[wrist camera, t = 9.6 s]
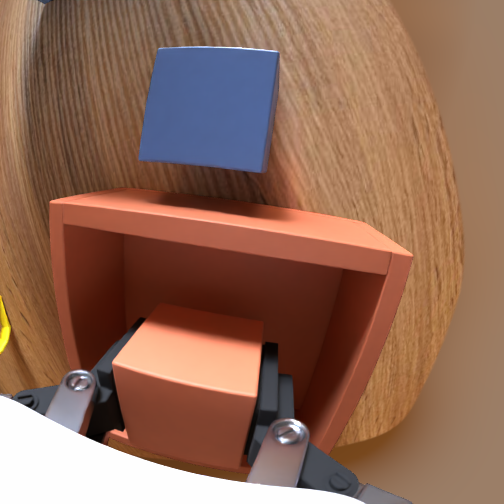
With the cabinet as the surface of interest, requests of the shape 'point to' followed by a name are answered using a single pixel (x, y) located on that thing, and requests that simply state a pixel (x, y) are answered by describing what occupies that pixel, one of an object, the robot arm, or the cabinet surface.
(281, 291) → the terracotta bin
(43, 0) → the blue bin
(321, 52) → the cabinet surface
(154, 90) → the blue block
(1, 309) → the watch
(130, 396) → the terracotta block
